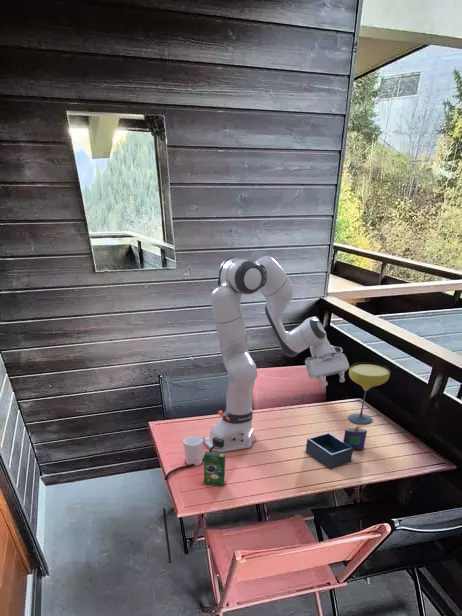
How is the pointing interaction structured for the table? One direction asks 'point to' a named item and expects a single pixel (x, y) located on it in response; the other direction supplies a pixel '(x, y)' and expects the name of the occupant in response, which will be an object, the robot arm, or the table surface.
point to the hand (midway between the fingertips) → (334, 383)
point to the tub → (329, 450)
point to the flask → (355, 438)
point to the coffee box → (214, 468)
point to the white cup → (193, 450)
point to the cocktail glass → (367, 383)
